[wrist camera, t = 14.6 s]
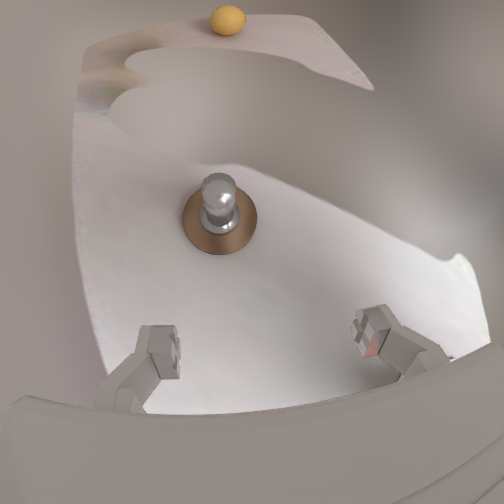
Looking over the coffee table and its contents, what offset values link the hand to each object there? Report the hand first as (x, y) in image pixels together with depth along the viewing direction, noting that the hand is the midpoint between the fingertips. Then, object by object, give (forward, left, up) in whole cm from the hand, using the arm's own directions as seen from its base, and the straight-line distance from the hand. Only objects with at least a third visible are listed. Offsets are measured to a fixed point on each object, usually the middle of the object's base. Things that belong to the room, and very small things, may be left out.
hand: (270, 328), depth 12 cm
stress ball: (-1, -76, -32) cm, 83 cm away
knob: (+2, -17, -30) cm, 35 cm away
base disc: (+2, -17, -31) cm, 36 cm away
